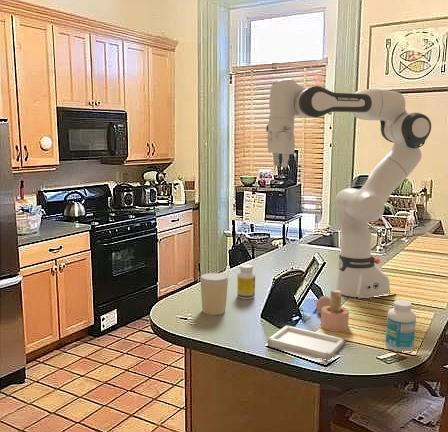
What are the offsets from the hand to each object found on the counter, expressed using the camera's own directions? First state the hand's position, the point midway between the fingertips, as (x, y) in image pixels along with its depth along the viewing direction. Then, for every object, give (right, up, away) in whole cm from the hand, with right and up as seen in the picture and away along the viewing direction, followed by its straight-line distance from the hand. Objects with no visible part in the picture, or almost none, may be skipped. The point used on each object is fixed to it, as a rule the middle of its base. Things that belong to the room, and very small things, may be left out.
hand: (280, 166), depth 177 cm
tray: (+3, -54, -37) cm, 65 cm away
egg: (+13, -51, -13) cm, 54 cm away
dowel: (+14, -51, -24) cm, 58 cm away
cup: (+14, -52, -24) cm, 59 cm away
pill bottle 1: (-12, -47, +6) cm, 49 cm away
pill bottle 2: (+29, -55, -38) cm, 73 cm away
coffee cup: (-23, -50, -9) cm, 56 cm away
